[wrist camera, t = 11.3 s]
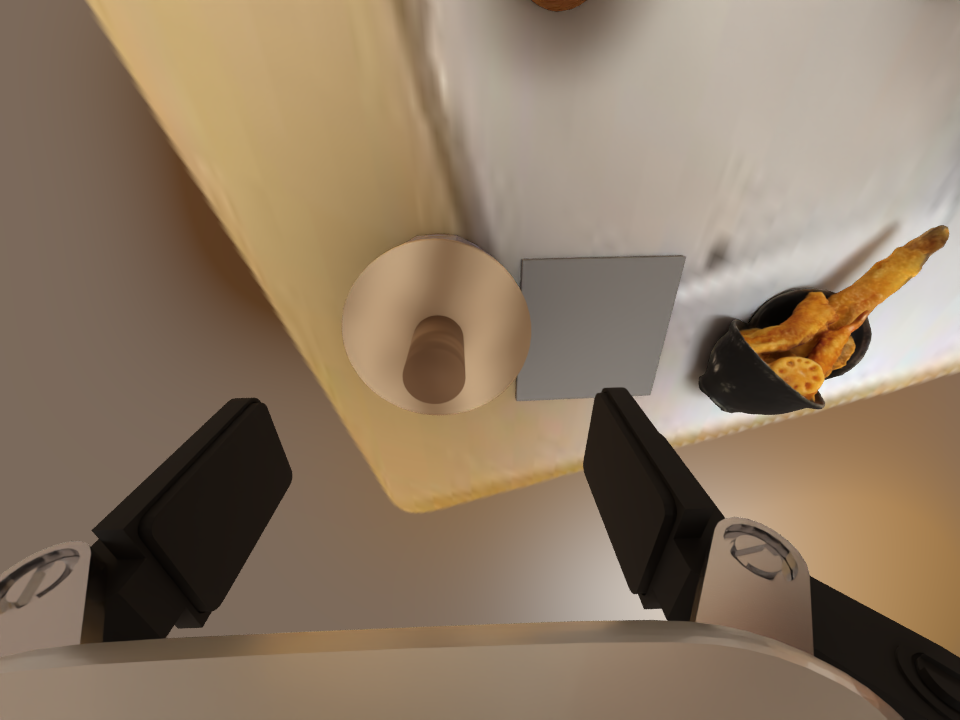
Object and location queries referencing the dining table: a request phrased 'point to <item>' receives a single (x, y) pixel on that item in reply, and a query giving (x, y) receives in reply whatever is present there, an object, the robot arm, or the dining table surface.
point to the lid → (436, 327)
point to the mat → (595, 324)
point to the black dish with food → (806, 338)
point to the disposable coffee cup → (558, 4)
